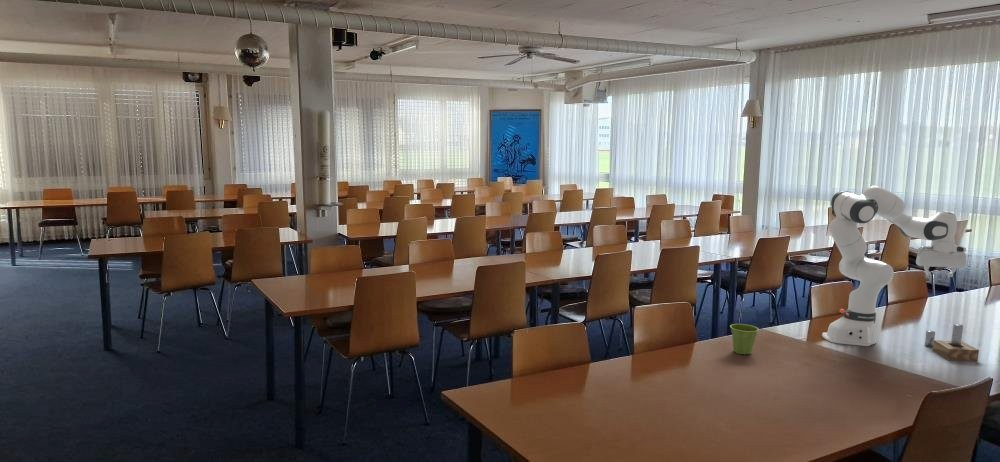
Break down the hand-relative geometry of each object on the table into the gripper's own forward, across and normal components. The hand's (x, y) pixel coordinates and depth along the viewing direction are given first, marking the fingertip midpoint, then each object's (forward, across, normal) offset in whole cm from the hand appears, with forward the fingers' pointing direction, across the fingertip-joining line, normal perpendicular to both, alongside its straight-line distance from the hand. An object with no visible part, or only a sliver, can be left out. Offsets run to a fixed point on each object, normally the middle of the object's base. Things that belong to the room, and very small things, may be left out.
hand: (939, 276), depth 302 cm
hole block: (+31, -1, -21) cm, 38 cm away
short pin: (+31, -5, -8) cm, 33 cm away
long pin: (+31, -1, -21) cm, 38 cm away
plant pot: (+31, -93, -31) cm, 103 cm away
